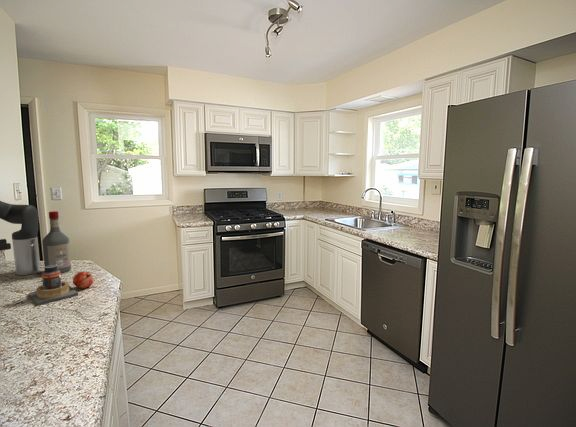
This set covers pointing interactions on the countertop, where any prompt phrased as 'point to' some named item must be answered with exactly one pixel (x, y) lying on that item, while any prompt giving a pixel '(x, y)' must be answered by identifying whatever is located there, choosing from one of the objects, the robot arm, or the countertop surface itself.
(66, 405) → the countertop surface
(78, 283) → the pomegranate
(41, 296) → the ring board
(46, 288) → the supplement bottle
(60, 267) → the liquor
